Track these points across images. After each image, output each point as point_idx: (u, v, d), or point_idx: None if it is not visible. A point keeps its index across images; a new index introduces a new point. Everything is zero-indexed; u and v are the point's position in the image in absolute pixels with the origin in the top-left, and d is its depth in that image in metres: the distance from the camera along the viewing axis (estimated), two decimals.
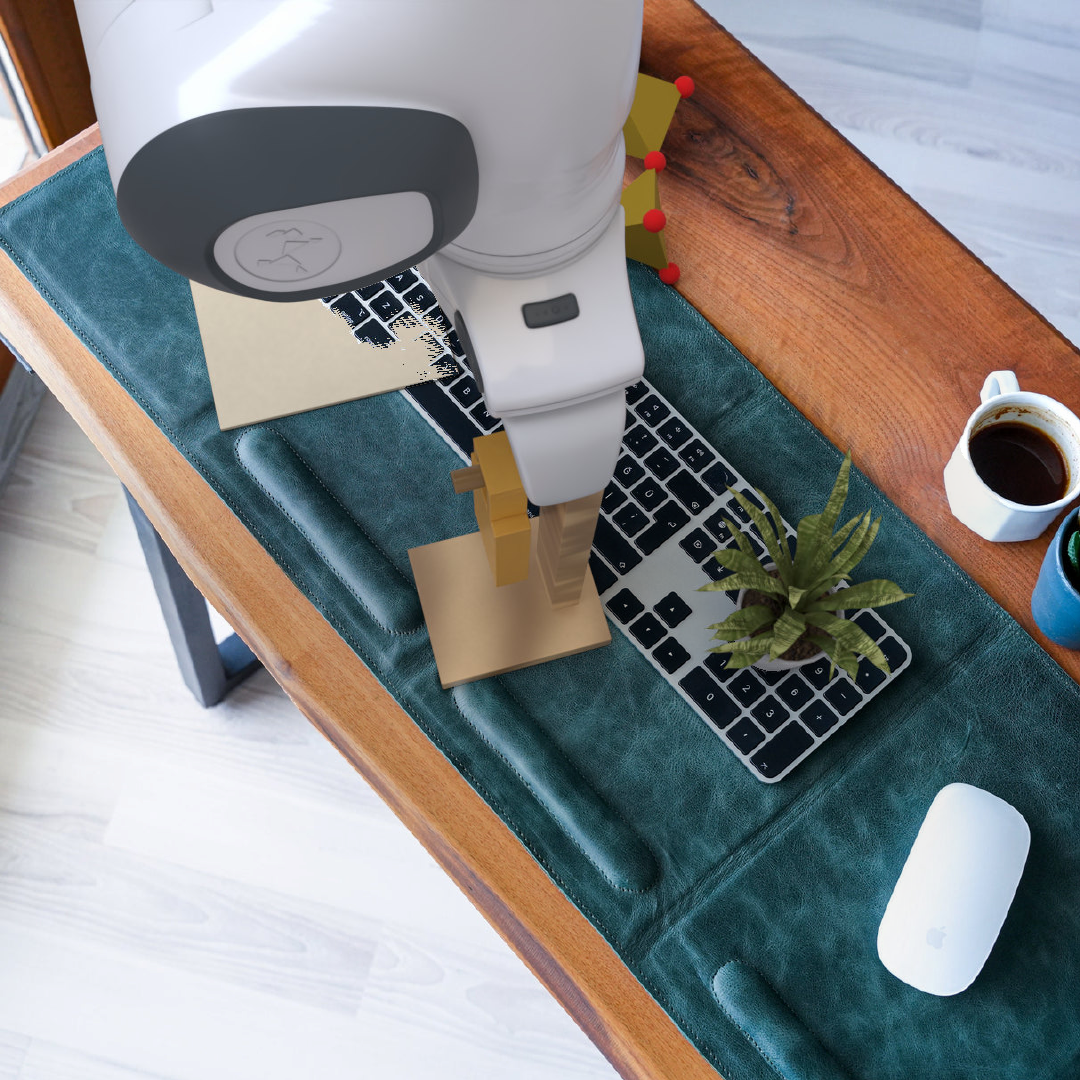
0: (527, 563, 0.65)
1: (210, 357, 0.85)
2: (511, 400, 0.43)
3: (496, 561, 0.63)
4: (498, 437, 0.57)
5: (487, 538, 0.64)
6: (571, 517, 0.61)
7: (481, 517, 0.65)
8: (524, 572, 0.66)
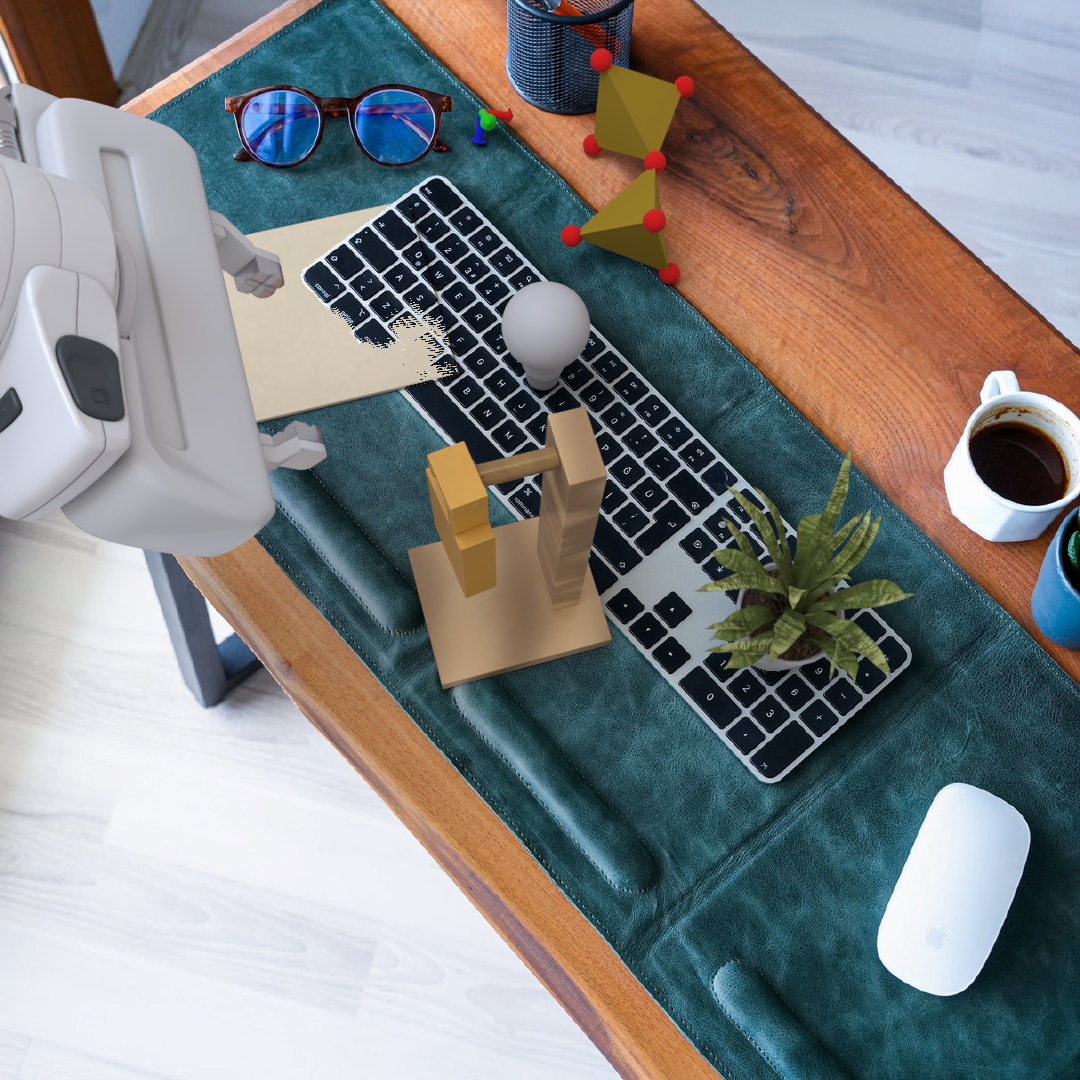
0: (495, 571, 0.64)
1: None
2: (11, 510, 0.42)
3: (463, 573, 0.62)
4: (452, 451, 0.56)
5: (451, 551, 0.64)
6: (571, 517, 0.61)
7: (443, 531, 0.64)
8: (492, 580, 0.66)
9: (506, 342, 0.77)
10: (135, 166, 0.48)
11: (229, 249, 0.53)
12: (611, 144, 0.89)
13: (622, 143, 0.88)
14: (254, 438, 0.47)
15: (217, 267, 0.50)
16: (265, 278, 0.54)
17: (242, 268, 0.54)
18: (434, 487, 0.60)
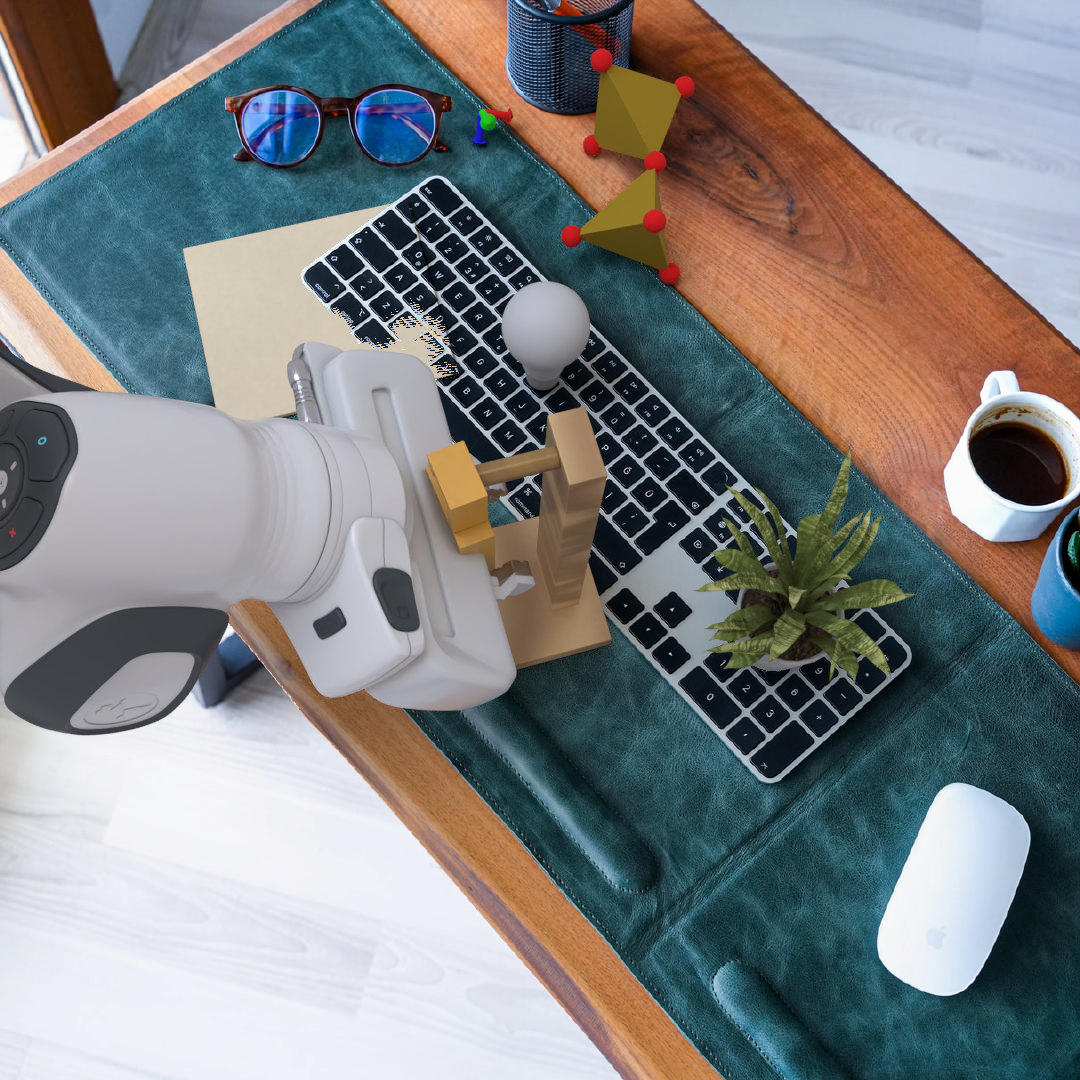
0: (494, 567, 0.64)
1: (210, 357, 0.85)
2: (332, 692, 0.55)
3: None
4: (451, 450, 0.56)
5: None
6: (571, 517, 0.61)
7: None
8: None
9: (506, 342, 0.77)
10: (395, 399, 0.61)
11: None
12: (611, 144, 0.89)
13: (622, 143, 0.88)
14: (497, 616, 0.60)
15: None
16: (494, 492, 0.66)
17: None
18: (433, 485, 0.60)
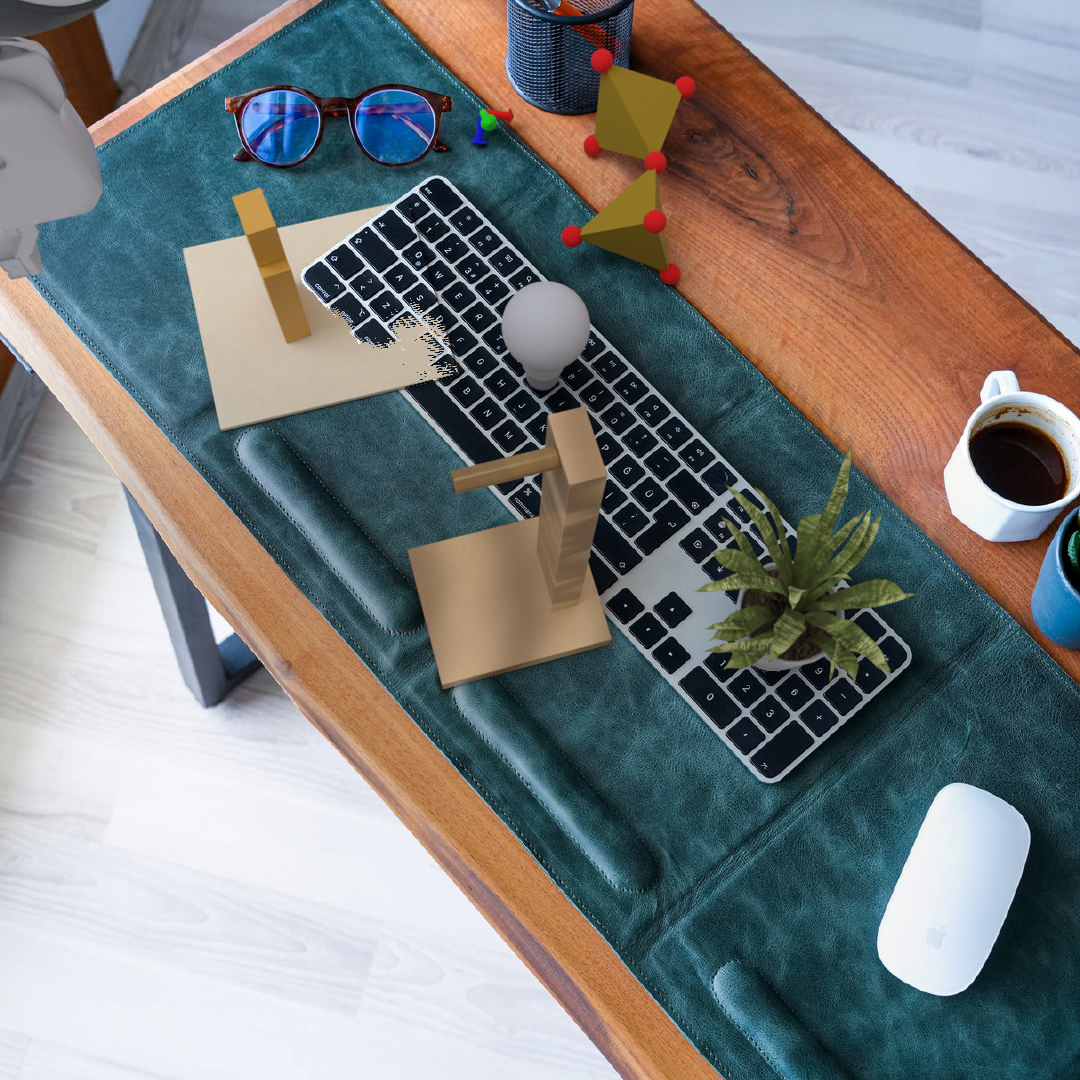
0: (303, 313, 0.83)
1: (210, 357, 0.85)
2: None
3: (275, 309, 0.81)
4: (251, 194, 0.75)
5: None
6: (571, 517, 0.61)
7: (263, 281, 0.82)
8: (305, 326, 0.84)
9: (506, 342, 0.77)
10: None
11: None
12: (611, 144, 0.89)
13: (623, 143, 0.88)
14: None
15: None
16: None
17: (12, 239, 0.53)
18: (246, 233, 0.78)
